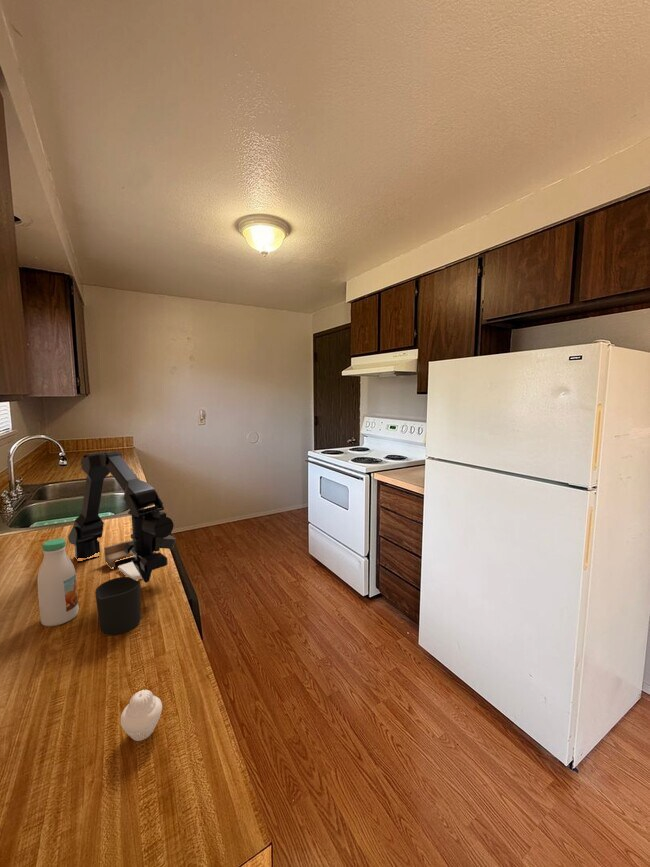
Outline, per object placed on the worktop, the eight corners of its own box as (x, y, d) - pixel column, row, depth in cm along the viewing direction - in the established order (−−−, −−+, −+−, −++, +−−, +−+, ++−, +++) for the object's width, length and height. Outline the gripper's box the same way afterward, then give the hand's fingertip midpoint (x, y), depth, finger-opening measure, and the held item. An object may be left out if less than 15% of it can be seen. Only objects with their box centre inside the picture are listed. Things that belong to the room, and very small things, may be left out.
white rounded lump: (169, 715, 63) (167, 678, 62) (153, 749, 57) (151, 708, 56) (133, 716, 62) (130, 679, 62) (113, 750, 56) (110, 710, 56)
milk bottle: (55, 630, 86) (48, 549, 84) (33, 623, 88) (25, 545, 86) (86, 612, 93) (80, 537, 91) (64, 606, 95) (58, 533, 93)
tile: (133, 583, 108) (132, 577, 108) (118, 572, 115) (118, 566, 115) (152, 576, 112) (151, 570, 112) (136, 565, 119) (136, 560, 119)
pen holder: (144, 610, 94) (142, 573, 93) (140, 631, 85) (137, 591, 84) (102, 618, 90) (100, 580, 89) (94, 641, 82) (90, 600, 81)
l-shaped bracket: (110, 570, 115) (109, 552, 115) (105, 564, 119) (104, 547, 119) (143, 560, 122) (142, 543, 122) (137, 555, 126) (136, 538, 126)
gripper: (184, 531, 103) (187, 583, 105) (160, 516, 117) (162, 562, 118) (143, 542, 96) (146, 598, 97) (122, 525, 109) (125, 574, 110)
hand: (146, 581), depth 106 cm, fingers closed
